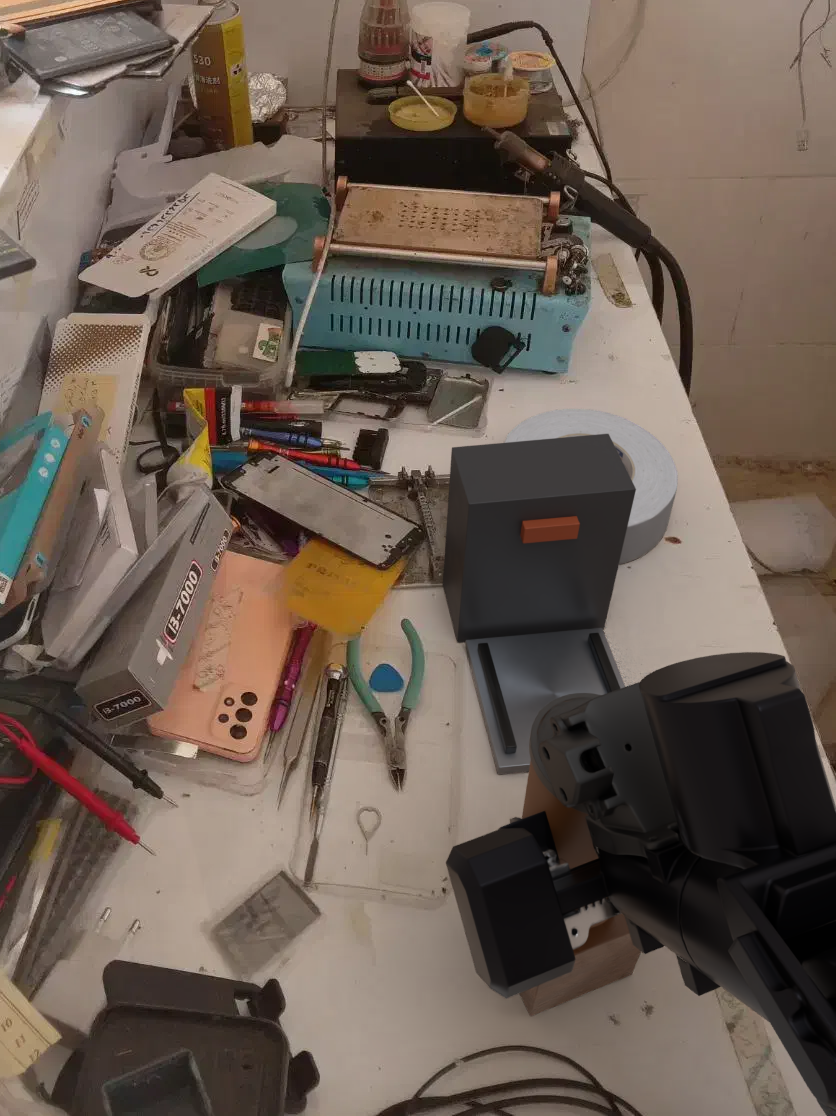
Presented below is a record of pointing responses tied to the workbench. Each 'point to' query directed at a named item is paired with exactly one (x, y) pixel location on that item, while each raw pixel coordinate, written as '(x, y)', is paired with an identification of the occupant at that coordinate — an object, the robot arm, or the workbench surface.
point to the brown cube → (589, 967)
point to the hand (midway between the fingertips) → (565, 808)
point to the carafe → (542, 797)
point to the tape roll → (639, 457)
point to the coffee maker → (534, 535)
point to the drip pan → (534, 683)
